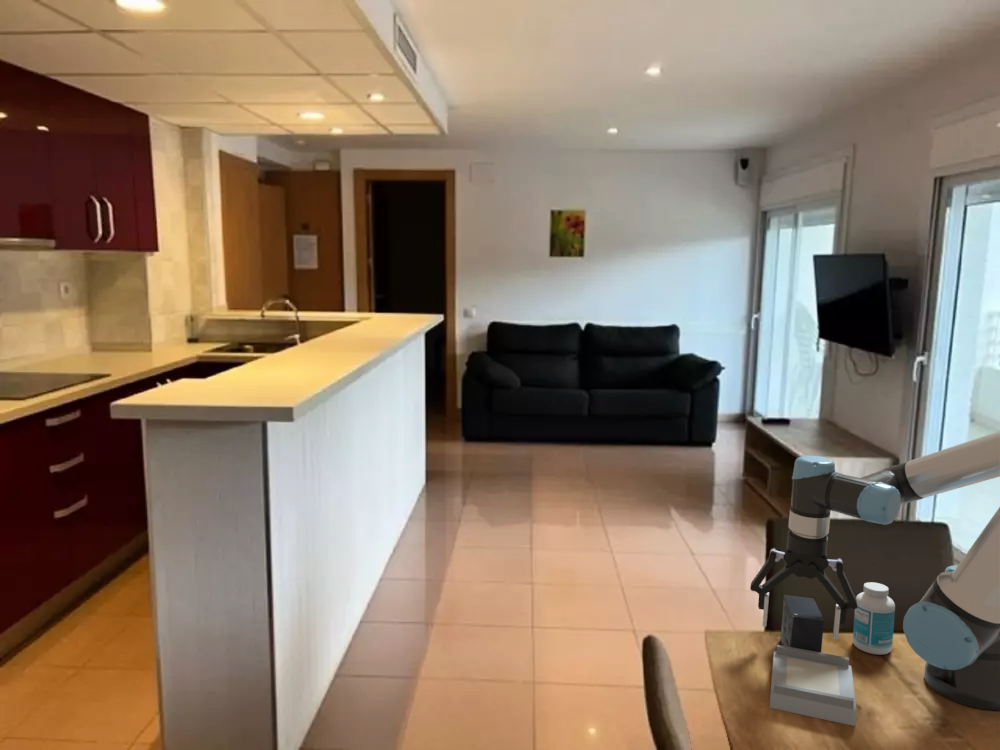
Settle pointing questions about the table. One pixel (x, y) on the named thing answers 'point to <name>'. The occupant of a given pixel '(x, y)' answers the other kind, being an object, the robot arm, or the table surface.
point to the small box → (801, 624)
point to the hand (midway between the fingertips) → (799, 630)
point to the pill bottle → (874, 619)
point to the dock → (813, 685)
